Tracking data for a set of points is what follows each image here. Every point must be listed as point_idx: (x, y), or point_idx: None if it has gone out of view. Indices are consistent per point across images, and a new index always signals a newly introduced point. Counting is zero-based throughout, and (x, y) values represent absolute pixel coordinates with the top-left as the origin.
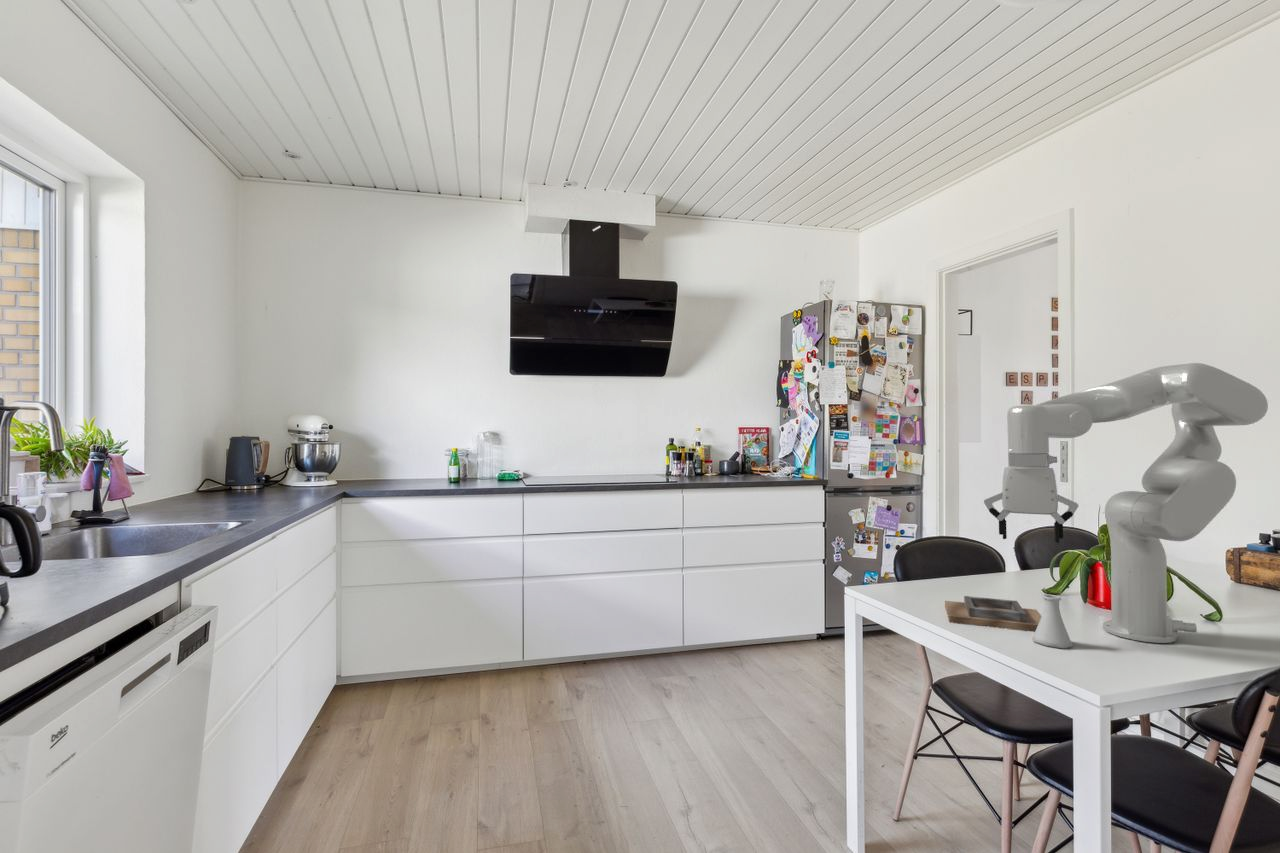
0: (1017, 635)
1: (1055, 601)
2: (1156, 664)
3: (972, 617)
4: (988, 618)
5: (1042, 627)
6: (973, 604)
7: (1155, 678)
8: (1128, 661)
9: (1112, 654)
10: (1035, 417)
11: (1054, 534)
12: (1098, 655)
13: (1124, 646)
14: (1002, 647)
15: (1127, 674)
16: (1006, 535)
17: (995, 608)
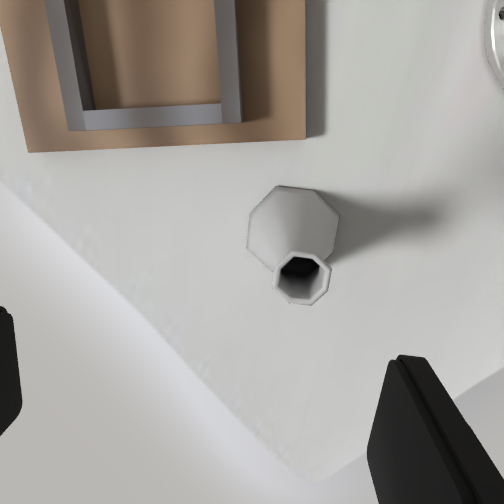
0: (215, 200)
1: (307, 296)
2: (486, 297)
3: (92, 137)
4: (136, 128)
5: (267, 263)
6: None
7: None
8: (430, 301)
9: (413, 263)
10: None
11: (405, 393)
12: (377, 285)
13: (473, 179)
14: (175, 315)
15: None
16: (3, 357)
17: None
